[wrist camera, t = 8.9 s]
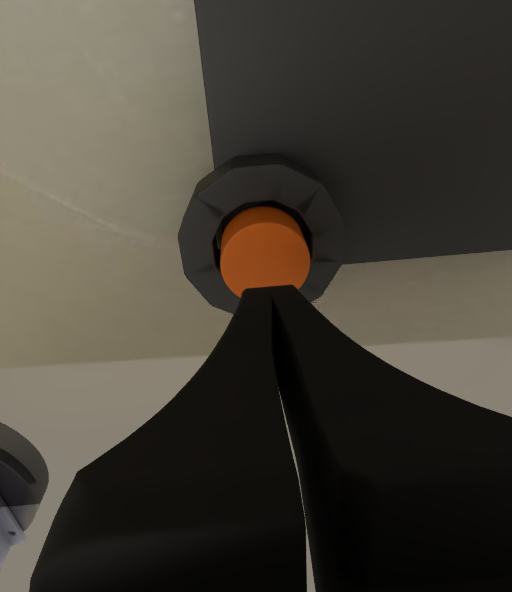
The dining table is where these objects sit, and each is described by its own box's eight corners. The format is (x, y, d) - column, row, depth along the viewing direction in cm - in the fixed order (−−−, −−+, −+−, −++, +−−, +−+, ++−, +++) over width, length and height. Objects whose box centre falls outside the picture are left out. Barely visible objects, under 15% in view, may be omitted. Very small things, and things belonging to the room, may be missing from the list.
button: (302, 201, 14) (310, 218, 13) (303, 277, 16) (310, 300, 14) (216, 209, 14) (214, 226, 13) (225, 284, 16) (225, 308, 14)
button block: (686, -59, 13) (798, -89, 11) (574, 255, 19) (630, 286, 16) (148, -16, 13) (128, -35, 10) (198, 288, 19) (193, 324, 16)
